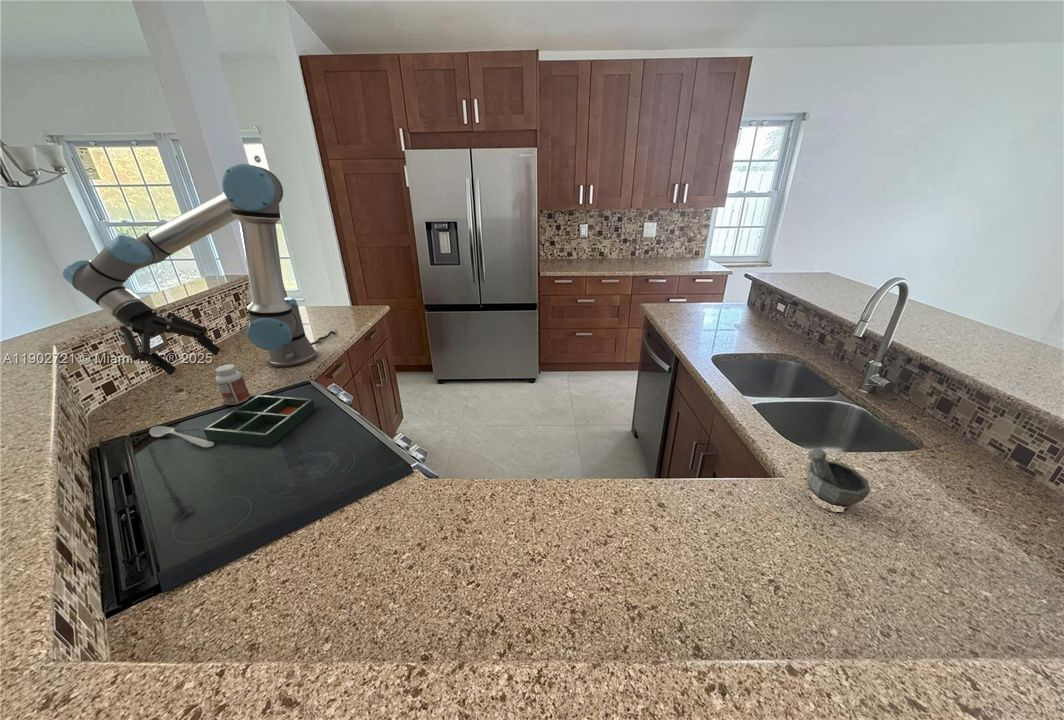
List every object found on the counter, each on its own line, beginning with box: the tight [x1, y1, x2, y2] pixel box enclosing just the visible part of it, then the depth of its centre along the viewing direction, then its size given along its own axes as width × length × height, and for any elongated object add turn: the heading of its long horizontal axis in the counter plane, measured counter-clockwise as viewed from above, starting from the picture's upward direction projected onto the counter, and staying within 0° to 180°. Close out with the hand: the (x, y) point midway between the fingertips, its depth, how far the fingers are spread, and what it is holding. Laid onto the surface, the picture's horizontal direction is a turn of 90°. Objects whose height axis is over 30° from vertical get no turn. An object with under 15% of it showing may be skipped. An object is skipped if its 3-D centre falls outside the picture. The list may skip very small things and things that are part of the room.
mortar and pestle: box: [806, 448, 871, 508], centre depth 74 cm, size 11×9×12 cm
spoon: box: [148, 425, 215, 449], centre depth 94 cm, size 4×21×2 cm, turn 74°
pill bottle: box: [214, 363, 251, 406], centre depth 109 cm, size 6×6×11 cm
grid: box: [202, 394, 317, 448], centre depth 100 cm, size 17×17×4 cm
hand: (196, 361), depth 107 cm, fingers open, 13 cm apart
